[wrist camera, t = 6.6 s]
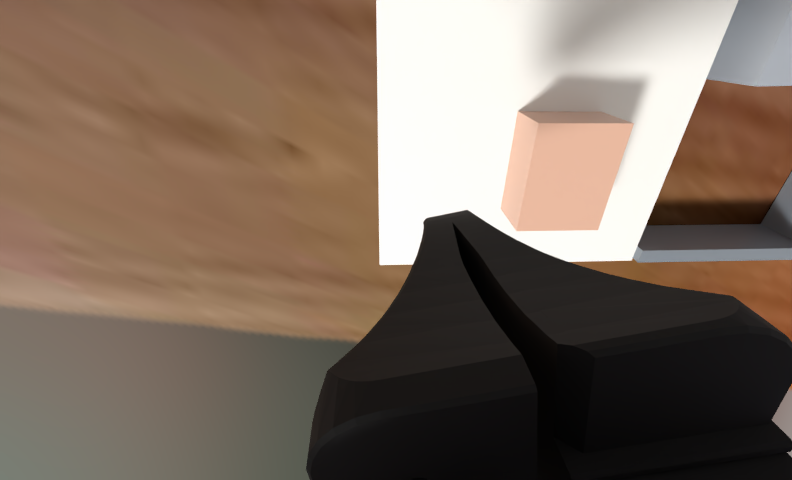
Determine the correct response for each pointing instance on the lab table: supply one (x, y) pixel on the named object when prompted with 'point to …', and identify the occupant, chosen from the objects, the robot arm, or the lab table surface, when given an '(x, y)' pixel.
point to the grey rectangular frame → (723, 238)
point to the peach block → (562, 169)
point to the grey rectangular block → (756, 45)
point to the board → (530, 105)
